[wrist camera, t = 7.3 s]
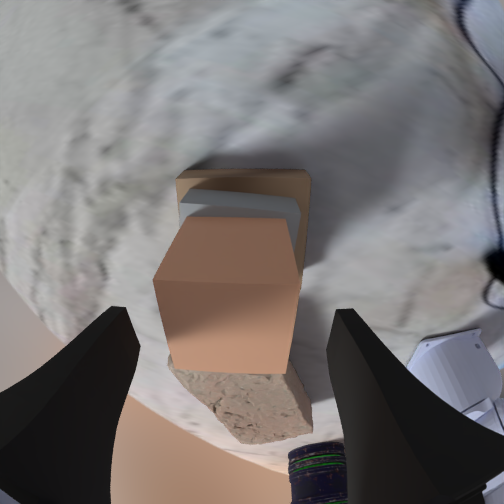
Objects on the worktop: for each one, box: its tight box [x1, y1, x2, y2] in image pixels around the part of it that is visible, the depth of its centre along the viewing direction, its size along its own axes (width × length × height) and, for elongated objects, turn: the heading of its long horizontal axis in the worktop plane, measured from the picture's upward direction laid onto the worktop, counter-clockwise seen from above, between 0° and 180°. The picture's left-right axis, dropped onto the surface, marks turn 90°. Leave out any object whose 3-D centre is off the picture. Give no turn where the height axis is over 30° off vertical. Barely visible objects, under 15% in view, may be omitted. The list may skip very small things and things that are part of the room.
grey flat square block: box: [179, 189, 301, 252], centre depth 15 cm, size 6×6×2 cm
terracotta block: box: [153, 217, 301, 374], centre depth 12 cm, size 4×4×5 cm
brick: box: [168, 354, 313, 444], centre depth 23 cm, size 17×8×5 cm, turn 21°
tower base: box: [176, 169, 311, 290], centre depth 17 cm, size 7×7×2 cm
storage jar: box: [288, 442, 348, 504], centre depth 31 cm, size 10×10×15 cm
